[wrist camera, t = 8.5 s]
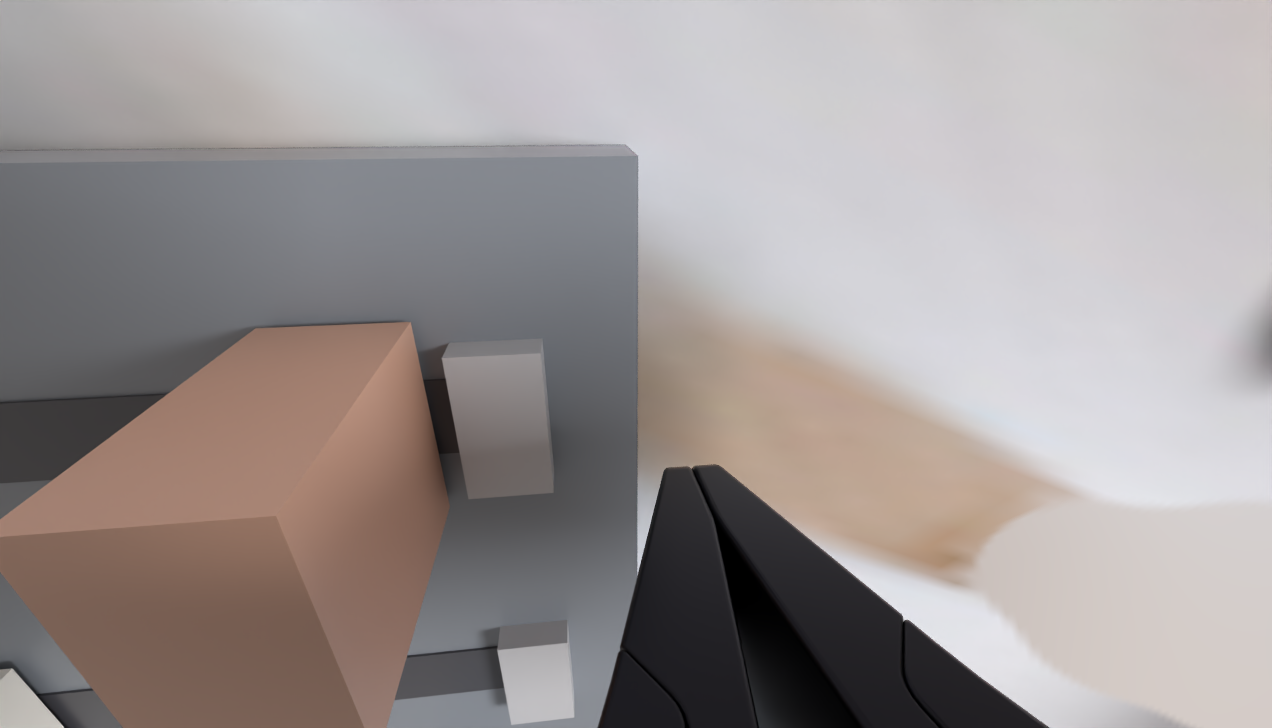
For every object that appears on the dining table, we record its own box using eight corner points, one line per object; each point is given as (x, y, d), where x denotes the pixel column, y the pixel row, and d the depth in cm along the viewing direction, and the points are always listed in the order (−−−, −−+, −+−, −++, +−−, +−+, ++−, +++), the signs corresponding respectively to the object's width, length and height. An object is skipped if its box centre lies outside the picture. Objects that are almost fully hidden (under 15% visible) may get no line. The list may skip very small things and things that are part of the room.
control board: (625, 144, 10) (642, 160, 8) (630, 796, 21) (638, 883, 19) (-711, 157, 8) (-1247, 183, 5) (77, 871, 19) (8, 979, 16)
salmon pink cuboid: (410, 322, 9) (275, 516, 5) (449, 506, 10) (377, 758, 6) (255, 328, 8) (-26, 539, 4) (323, 516, 10) (167, 785, 6)
